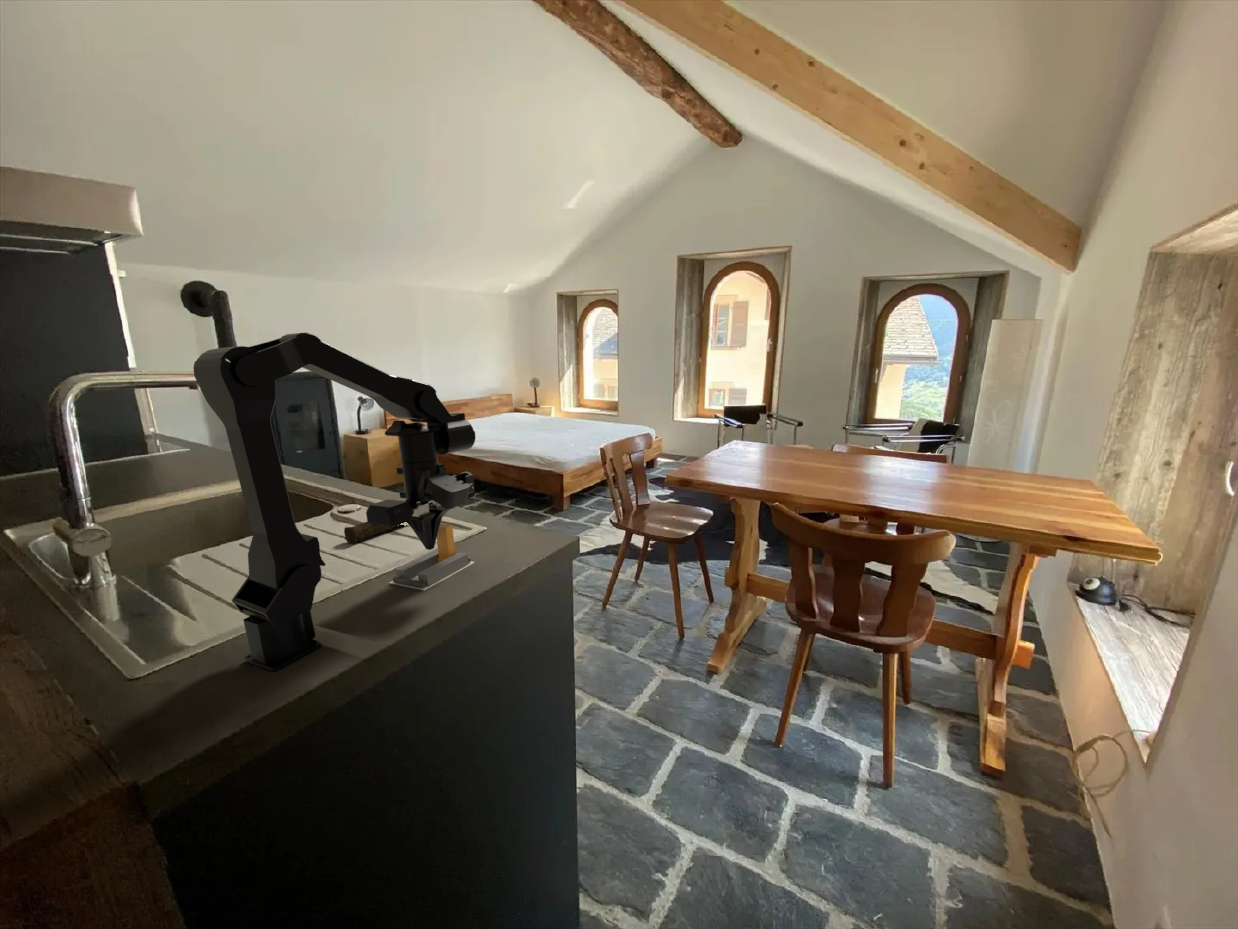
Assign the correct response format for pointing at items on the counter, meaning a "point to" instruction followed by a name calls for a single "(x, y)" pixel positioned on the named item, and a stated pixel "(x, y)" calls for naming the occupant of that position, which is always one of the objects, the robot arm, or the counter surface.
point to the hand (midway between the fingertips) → (430, 549)
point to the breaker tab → (445, 542)
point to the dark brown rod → (364, 531)
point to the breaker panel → (429, 570)
